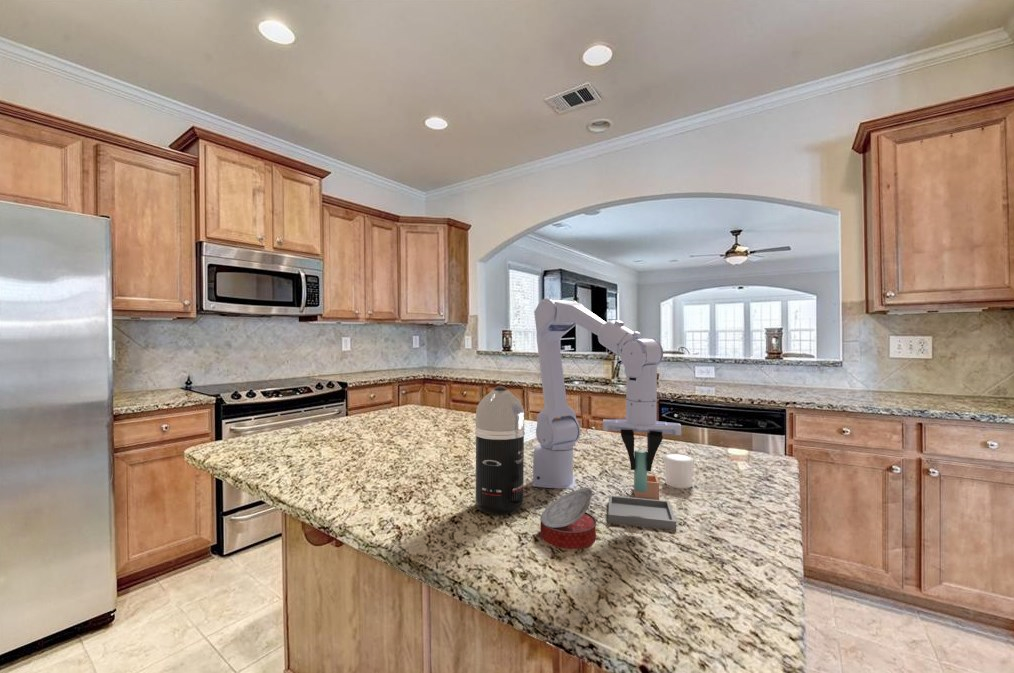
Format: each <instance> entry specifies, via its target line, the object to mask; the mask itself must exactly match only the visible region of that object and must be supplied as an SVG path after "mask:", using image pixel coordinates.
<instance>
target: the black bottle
mask: <svg viewBox="0 0 1014 673" xmlns="http://www.w3.org/2000/svg"><path fill="white" fill-rule="evenodd" d="M474 430H475V432H474V435H475V489H474V490H475V498H474V499H475V505H476V507H477V509H479V510H480V511H482V512H483V513H486V514H489V515H496V516H497V515H498V516H499V515H500V516H501V515H502V516H503V515H509V514H513V513H515V512H517V511H519V510H520V509H521V508H522V506H523V504H524V483H525V482H524V480H525V479H524V470H525V468H524V467H525V465H524V464H525V462H524V460H525V459H524V458H525V452H524V451H525V434H526V432H525V408H524V407H523V405H522V403H521V401H520V400H519V399H518V398H517V397H516V396H515V395H514V394H513V393H512V392H511V391H509V390H508V389H507V388H506V387H505V386H502V385H499V386H496V387H494V388H493V390H491V391H490V392H489V393H487V394H486V395H485V396H484V397H483V398H482V399H481V400H480V402H479V403H478V405H477V407H476V411H475V429H474Z"/></svg>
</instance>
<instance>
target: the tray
mask: <svg viewBox="0 0 1014 673" xmlns="http://www.w3.org/2000/svg"><path fill="white" fill-rule="evenodd" d="M607 520H608V523H609V524H616V525H625V526H636V527H642V528H643V527H644V528H651V529H652V528H653V529H663V530H669V531H670V530H671V531H677V519H676V516H675V514H674V511H673V507H672V505H671V502H670V500H664V499H663V500H662V499H659V500H658V499H647V498H636V497H631V496H623V495H622V496H621V495H620V496H619V495H608V519H607Z"/></svg>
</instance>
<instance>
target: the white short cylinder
mask: <svg viewBox="0 0 1014 673" xmlns="http://www.w3.org/2000/svg"><path fill="white" fill-rule="evenodd" d="M663 463H664V476H665V484H667V486H669V487H671V488H675V489H676V488H677V489H689V488H691V487H692V485H693V475H694V466H695V457H693V456H691V455H689V454H684V453H676V452H673V453H672V452H671V453H665V454H663Z"/></svg>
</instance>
